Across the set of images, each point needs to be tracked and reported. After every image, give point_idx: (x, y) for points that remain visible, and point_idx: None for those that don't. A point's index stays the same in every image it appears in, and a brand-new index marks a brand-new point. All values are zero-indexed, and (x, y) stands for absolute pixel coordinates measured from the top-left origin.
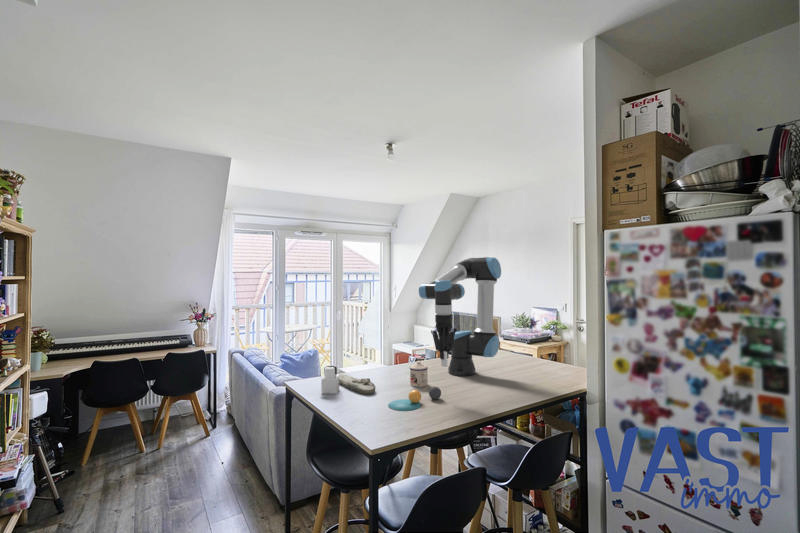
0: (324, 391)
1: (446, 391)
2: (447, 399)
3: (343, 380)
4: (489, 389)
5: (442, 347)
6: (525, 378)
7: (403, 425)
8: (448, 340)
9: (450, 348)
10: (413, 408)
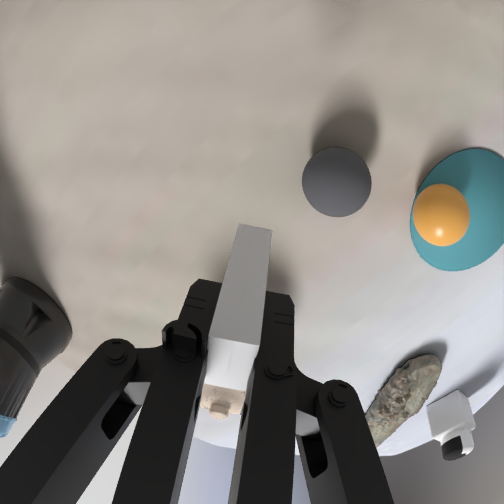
0: (467, 401)
1: (199, 212)
2: (288, 124)
3: (392, 431)
4: (35, 117)
5: (289, 424)
6: None
7: None
8: (124, 499)
9: (127, 360)
10: (486, 160)
